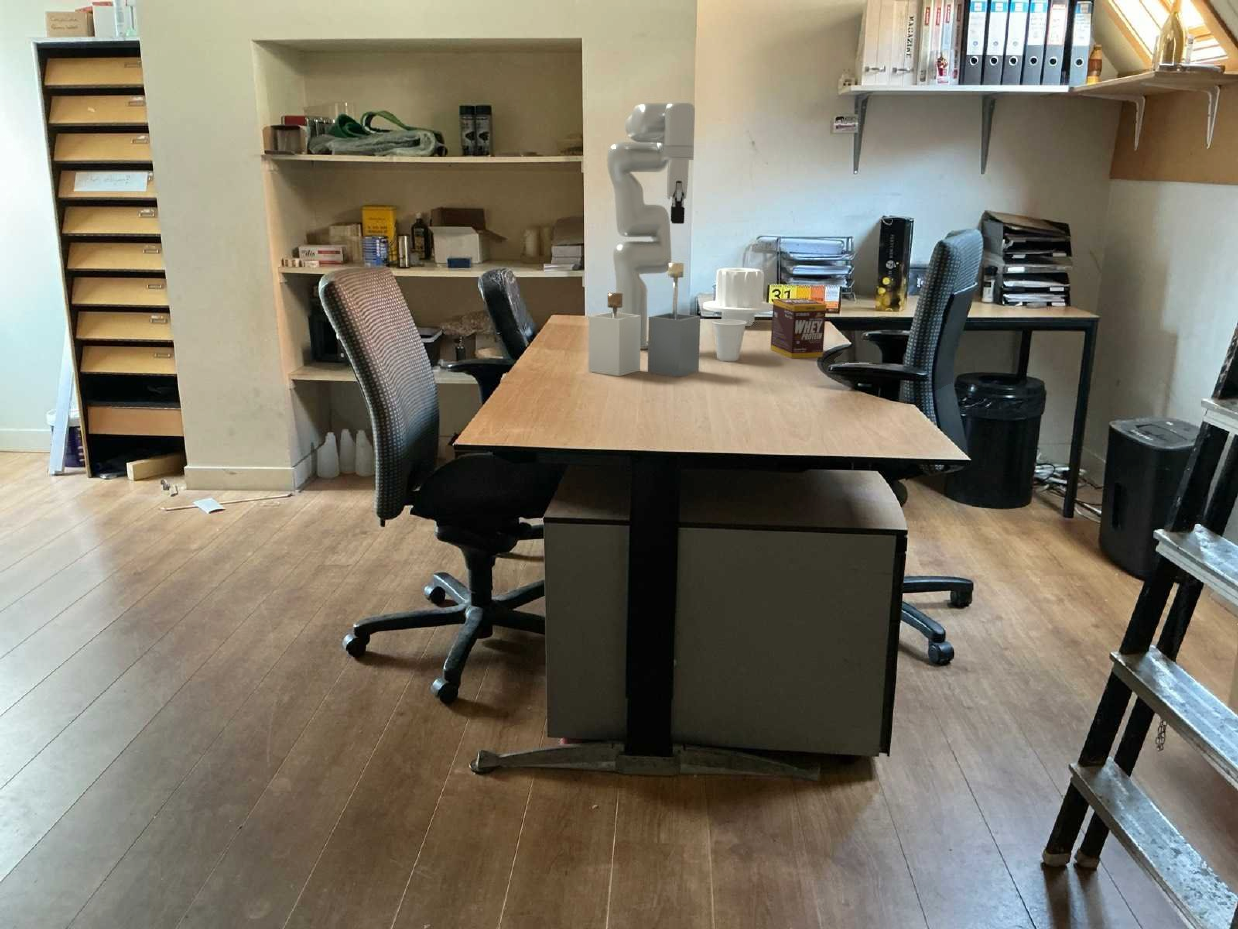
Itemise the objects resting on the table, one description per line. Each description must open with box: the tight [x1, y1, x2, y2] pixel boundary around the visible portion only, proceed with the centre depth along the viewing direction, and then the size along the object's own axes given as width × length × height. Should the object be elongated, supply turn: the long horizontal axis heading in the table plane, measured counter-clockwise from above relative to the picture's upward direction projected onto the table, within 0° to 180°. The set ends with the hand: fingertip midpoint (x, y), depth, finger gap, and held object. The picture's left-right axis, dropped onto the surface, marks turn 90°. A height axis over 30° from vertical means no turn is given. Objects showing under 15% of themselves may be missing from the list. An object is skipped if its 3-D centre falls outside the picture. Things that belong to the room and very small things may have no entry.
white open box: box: [588, 311, 641, 377], centre depth 278 cm, size 10×10×15 cm
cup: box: [711, 318, 747, 362], centre depth 296 cm, size 10×10×11 cm
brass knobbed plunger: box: [667, 262, 685, 320], centre depth 274 cm, size 8×8×19 cm
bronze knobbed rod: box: [607, 292, 623, 319], centre depth 277 cm, size 8×8×19 cm
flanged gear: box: [702, 267, 773, 327], centre depth 361 cm, size 25×25×19 cm
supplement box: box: [770, 297, 827, 359], centre depth 307 cm, size 10×15×16 cm
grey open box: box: [647, 312, 701, 378], centre depth 277 cm, size 10×10×15 cm
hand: (677, 222), depth 268 cm, fingers open, 9 cm apart
